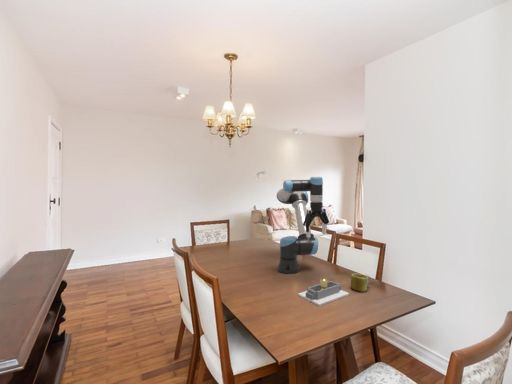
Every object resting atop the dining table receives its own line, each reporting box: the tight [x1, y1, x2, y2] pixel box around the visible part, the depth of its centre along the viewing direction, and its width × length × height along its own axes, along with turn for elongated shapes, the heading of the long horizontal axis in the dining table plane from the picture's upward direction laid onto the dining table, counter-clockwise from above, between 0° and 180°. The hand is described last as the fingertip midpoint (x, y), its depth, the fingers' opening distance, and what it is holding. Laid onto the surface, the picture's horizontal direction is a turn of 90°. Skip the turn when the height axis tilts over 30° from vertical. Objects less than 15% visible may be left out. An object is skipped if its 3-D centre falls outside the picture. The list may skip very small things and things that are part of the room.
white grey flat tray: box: [297, 280, 350, 307], centre depth 153 cm, size 16×23×5 cm
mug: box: [350, 273, 371, 293], centre depth 160 cm, size 12×10×10 cm
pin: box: [319, 277, 328, 290], centre depth 153 cm, size 4×4×8 cm
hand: (316, 235), depth 173 cm, fingers open, 13 cm apart
